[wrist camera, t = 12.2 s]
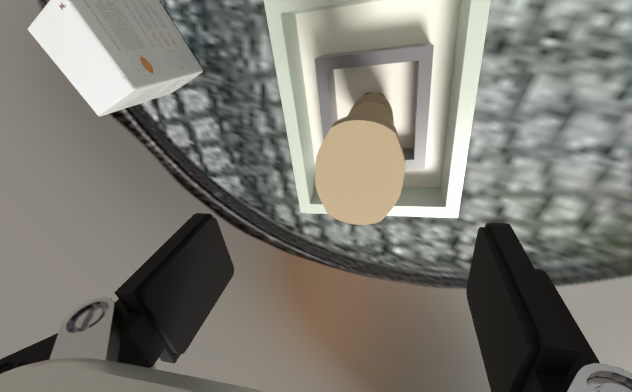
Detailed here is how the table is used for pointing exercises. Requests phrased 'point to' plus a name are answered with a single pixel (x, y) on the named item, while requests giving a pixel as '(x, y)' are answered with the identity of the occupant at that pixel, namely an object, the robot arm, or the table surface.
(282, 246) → the table surface
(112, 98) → the small box
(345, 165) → the handle
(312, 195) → the housing
